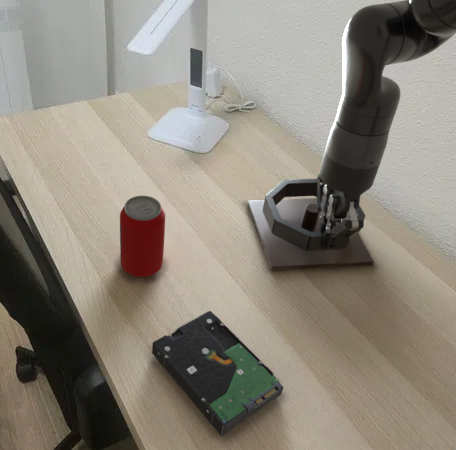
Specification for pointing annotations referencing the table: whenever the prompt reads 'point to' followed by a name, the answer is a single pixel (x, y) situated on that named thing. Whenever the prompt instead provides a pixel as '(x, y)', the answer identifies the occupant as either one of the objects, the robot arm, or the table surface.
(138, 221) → the beverage can
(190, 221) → the table surface
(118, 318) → the table surface
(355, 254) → the stand
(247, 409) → the disk drive
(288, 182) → the ring
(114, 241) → the table surface
